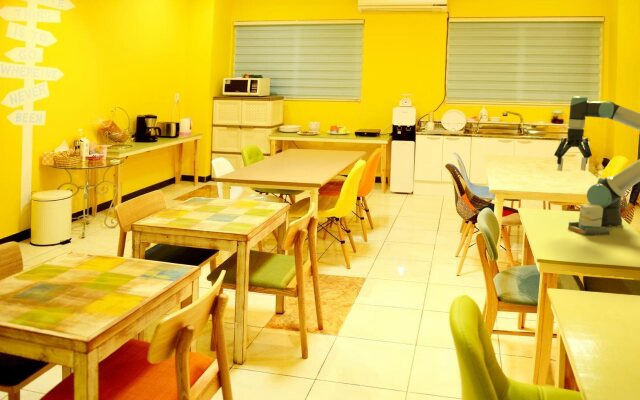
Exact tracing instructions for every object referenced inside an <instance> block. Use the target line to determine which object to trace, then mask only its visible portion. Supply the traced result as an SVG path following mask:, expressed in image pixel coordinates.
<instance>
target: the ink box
mask: <svg viewBox="0 0 640 400" xmlns="http://www.w3.org/2000/svg"><path fill="white" fill-rule="evenodd" d="M579 208H580V209H579V217H578V222H579V224H578V227H579V228H580V229H582V230H585V228H601V227H602V225H601V223H602V215H603V208H602V207H601V206H599V205H593V204H590V203H580V207H579Z"/></svg>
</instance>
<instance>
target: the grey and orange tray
mask: <svg viewBox="0 0 640 400" xmlns="http://www.w3.org/2000/svg"><path fill="white" fill-rule="evenodd" d="M578 224H579V221H568V228H567V229H568V230H569V231H572V232H575V233H577V234H580V235H582V236H586V237H588V236H609V235H610V231H611V226H601V228H585V230H582V229H580V228H579V227H578Z"/></svg>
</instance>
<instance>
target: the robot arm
mask: <svg viewBox="0 0 640 400" xmlns="http://www.w3.org/2000/svg"><path fill="white" fill-rule="evenodd" d="M588 99H589V98H588V97H586V96H572V98H571V100H570V106H569V114H568V115H569V116H568V117H569V118H568V124H567V125H568V128H567V131H566V132H567V133H566V135H567V137H561V140H560V143H559V145H558V147H557V148H556V150H555V152H554V154H553V155H554V156H555V157H556V158H557V160H556V162H557V163H556V164H557V171H560V172H563V166H564V156H565V154H566V153H567V152H568V151H569V150H570V149H571V148H578V150H579V151H580V153H581V155H582V156H583V157H581V163H580V171H584V172H585V171H586V168H587V164H588V160H589V158H590V157H592V156H593V154H592V152H591V151H592V150H591V147H590V144H589V138H588V137H584V133H585V129H584V128H585V126H586V118H590V117H591V118H600V119H601V118H602V119H609V120H612V121H615V122H617V123H620V124H623V125H624V126H626V127H627V126H628V127H630V128H632V129H635V130H637V131H640V112H637V111H635V110H632V109H629V108H627V107H624V106H621V105H619V104H616V103H615V102H613V101H608V100H607V101H590V100H588ZM639 182H640V158H639V159H638V160H635V162H633V163H632V164H630V165H629V166H627V167H625V168H624V169H623V170H621V171H619V172H618V173H617V174H615V175H613V176H606V177H605V178H603V177H598V179H597V182H596V183H595V184H592V185H591V186H590V187H588V190H587V191H586V199H587V201H588V204H593V205H599V206H601V207H602V208H603V215H602V223H601V226H602V227H621V226H622V225H623V218H622V214H621V203H622V197H624V193H625V192H626V191H627V190H629V189H631V188H632V187H634V185H635V186H636V184H638V183H639Z"/></svg>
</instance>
